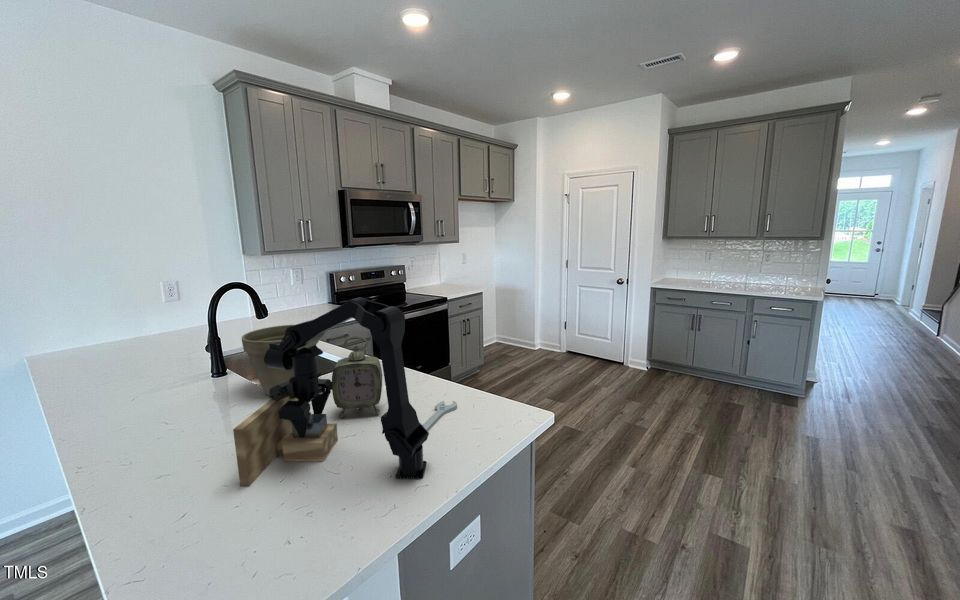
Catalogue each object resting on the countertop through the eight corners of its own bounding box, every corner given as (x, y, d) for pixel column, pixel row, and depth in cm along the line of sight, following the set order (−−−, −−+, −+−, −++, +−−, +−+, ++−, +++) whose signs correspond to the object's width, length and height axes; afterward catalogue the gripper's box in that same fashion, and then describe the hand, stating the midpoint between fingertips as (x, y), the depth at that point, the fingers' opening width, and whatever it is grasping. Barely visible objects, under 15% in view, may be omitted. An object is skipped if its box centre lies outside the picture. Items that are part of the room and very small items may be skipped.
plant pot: (252, 382, 152) (246, 327, 148) (321, 372, 162) (317, 320, 158) (243, 408, 130) (236, 344, 126) (324, 395, 139) (319, 336, 136)
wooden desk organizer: (305, 486, 90) (300, 429, 88) (240, 486, 90) (233, 429, 88) (349, 422, 120) (346, 378, 117) (300, 422, 120) (296, 378, 117)
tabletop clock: (334, 421, 121) (328, 342, 116) (338, 408, 130) (333, 334, 125) (383, 416, 124) (379, 339, 119) (384, 404, 132) (380, 331, 128)
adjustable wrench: (417, 444, 109) (417, 438, 108) (397, 439, 111) (397, 434, 111) (459, 407, 131) (459, 401, 131) (442, 403, 133) (442, 398, 133)
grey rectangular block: (320, 452, 102) (318, 423, 101) (294, 452, 102) (291, 423, 101) (328, 441, 107) (326, 413, 106) (303, 441, 107) (301, 413, 106)
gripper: (291, 359, 110) (296, 412, 113) (252, 385, 92) (259, 447, 95) (331, 359, 110) (335, 411, 113) (300, 385, 92) (306, 447, 95)
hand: (310, 428), depth 104 cm, fingers open, 9 cm apart
